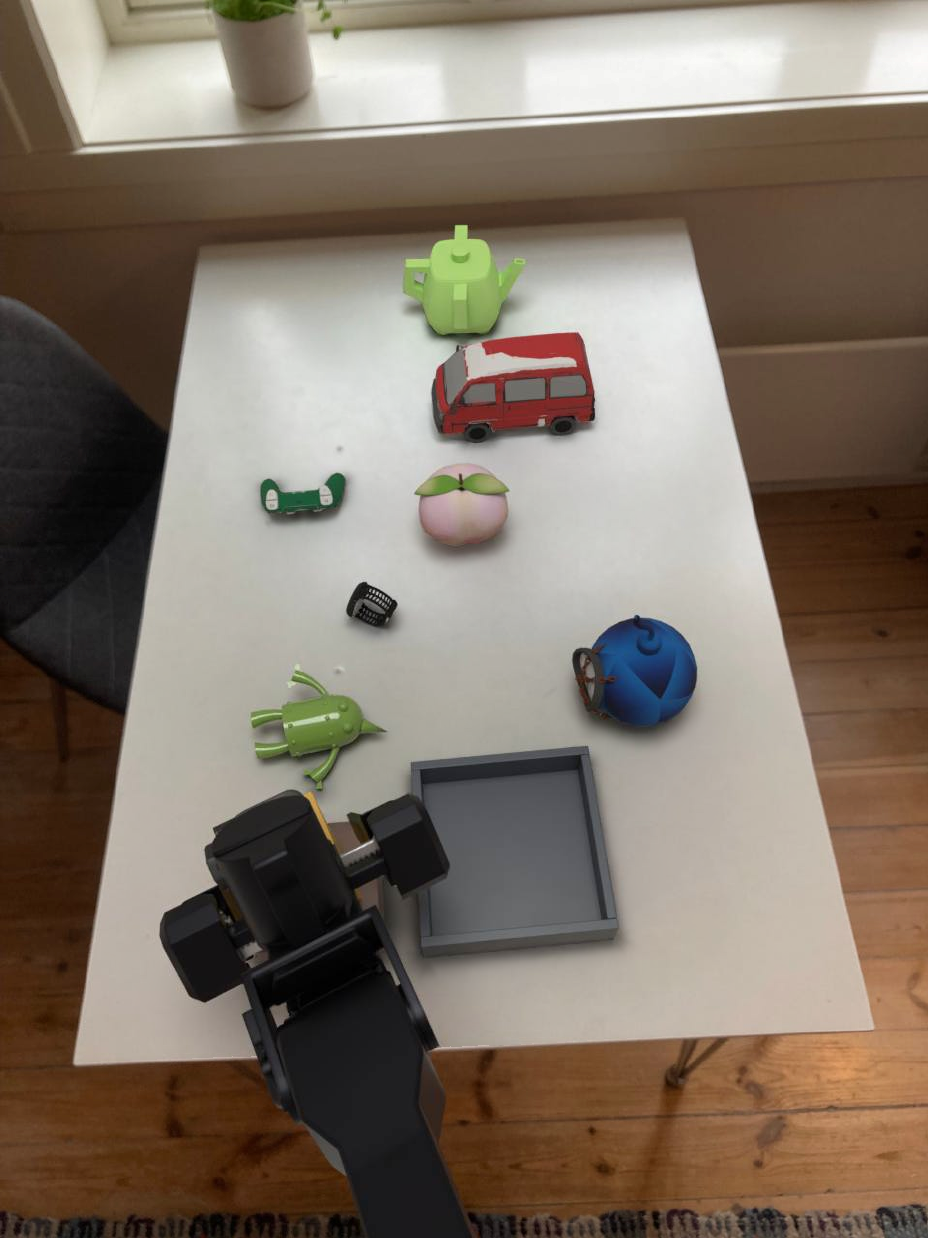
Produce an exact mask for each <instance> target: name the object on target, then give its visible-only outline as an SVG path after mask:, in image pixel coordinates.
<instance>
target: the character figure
mask: <svg viewBox="0 0 928 1238" xmlns="http://www.w3.org/2000/svg"><path fill="white" fill-rule="evenodd" d="M293 667H294V669H295V671H294V672H293V674H292V676H291V679H290V680H291V681H287V682H286V685H287V686H288V689H291V688H293V687H295V686H296V685H298V684H303V685H306V686H309V687H312V688H314V689H315V690H316V691H317V692H318V693H319V694H320V695H322V696H317V697H312V698H307V699H303V700H298V701H293V702H292V701H287V702H286V703H283V704H282V705H281V709H279V708H272V709H271V708H269V709H260V710H256V711H251V712H250V723H251V727H252V729H253V730H254V729H256V728H258V727H261V726H262V725H265V724H268V723H271V722H274V721H281V720H282V725H283V731H284V735H285V741H280V742H268V743H266V742H257V741H255V742H254V751H255V756H256V758H257V760H261V759H266V758H267V759H268V758H273V757H275V756H278V755H282V754H284V753H286V752H289V754H290V756H291V757H293V758H294V757H302V756H303V755H307V754H312V753H317V752H322V751H327V750H331V751H330V753H329V756H328V757H327V759H326V760H325V761H324V762H323V763H322V764H320V765H319V766H318V767H317V768H315V769H307V768H303V771H302V773H303V776H310V777H311V778H312V779H313V780H314V781H315V782H316V788H315V790H323V781H322V779H324V778H325V777H326V775H327V774H328V773H329V772H330V771H331V768H332V766H333V765H334V763H335V761H336V758H337V756H338V752H339V750H340V748H341V747H344V746H347V745H348V744H351V743H353V742H354V741H355V740H356V739H357V738H358V737H359V735H360V734H361V735H362V734H376V733H388V732H389V731H388V730H385V729H384V728H382V727H380V726H378V725H376V724H375V723H374V722H371V721H369V720H368V719H365V718H364V717H365V716H364V713H363V710H362V707H361V706H360V704H359V703H358V702H357V701H356V700H355V699H353V698H352V697H350V696H348V695H344V694H333V693H331V694H329V692H328V691H327V689H325V687H324V686H323V685H322V684H321V683H320V682H319V681H318V680H316V679H315V678H314V677H313V676H311V675H309V674H308V673H306V672H304V671H302V668H301V664H300V662H299V663H296V664H295V665H293Z"/></svg>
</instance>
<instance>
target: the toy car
mask: <svg viewBox="0 0 928 1238" xmlns="http://www.w3.org/2000/svg"><path fill="white" fill-rule="evenodd" d="M430 393H431V394H430V395H431V402H432V403H431V404H432V416H433V421H434V425H435V428H436V430H437V433H439V434H442V435H454V434H455V435H457V434H463V433H464V436H465V438H466V440H467V441H469V442H472V443H474V444H475V443H483V442H485V441H486V440H488V438H489V437H490V436H491V432H492V434H494V433H495V431H500V430H501V431H503V430H513V429H523V428H537V427H549V430H550V431H551V433H553V435H556V436H566V435H567V436H568V435H569V434H571V432H573V431H574V430H575V429H576V427H577V425H578V426H580V424H581V423H590V422H594V421H595V418H596V409H595V408H596V407H595V404H596V397H595V395H596V394H595V388H594V384H593V377H592V374H591V368H590V364H589V360H588V355H587V350H586V344H585V341H584V338H583V337H582V336H581V334H580V333H579V332H578V331H576V332H575V331H573V332H554V333H542V334H532V335H531V334H530V335H521V336H520V335H519V336H511V337H502V338H496V339H495V338H494V339H488V340H484V341H481V342H476V343H473V344H468V345H465V346H463V345H460V344H457V345H456V347H455V352H454V353H453V354H452V355H451V356H450V357H448V358H447V359H446V360H445V361H444V362H442V363H441V364H440V365H439V366H437V368H436V370H435V376H434V378H433V380H432V386H431V392H430ZM576 421H577V423H576Z"/></svg>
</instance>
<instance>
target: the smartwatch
mask: <svg viewBox="0 0 928 1238" xmlns="http://www.w3.org/2000/svg"><path fill="white" fill-rule="evenodd" d="M365 600H366V601H369V602H370V603H372V604H374V605H376V606H377V607H379V608H380V609H381V610H382V612H384V613H381V612H378V611H376V610H373V609H372V608H370V607H369V606H367V605H366V603H365V602H364V601H365ZM398 603H399V602H397V600H396V599H393V598H392V597H391V596H390V595H389V594H387V592H385V591H383V590H382V589H379V588H378V587H376V586H373V585H371V584H368V582H367V581H362V582H359V583H358V584H357V585H356V586H355V588H354V590H353V592H352V594H351V596H350V597H349V599H348V602H347V605H346V609H345V613H346V615H347V616H348V618H353V617H354V618H355V619H358V620H360V621H361V622H363V623H365V624H368V625H369V626H372V627H377V628H379V627H382V626H384V625H385V624H386V623H387V622H388V621H389V620H391V618H392V617H393V615H394V612H395V611H396V609H397V608H398V605H399V604H398ZM370 613H371V614H370Z"/></svg>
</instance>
